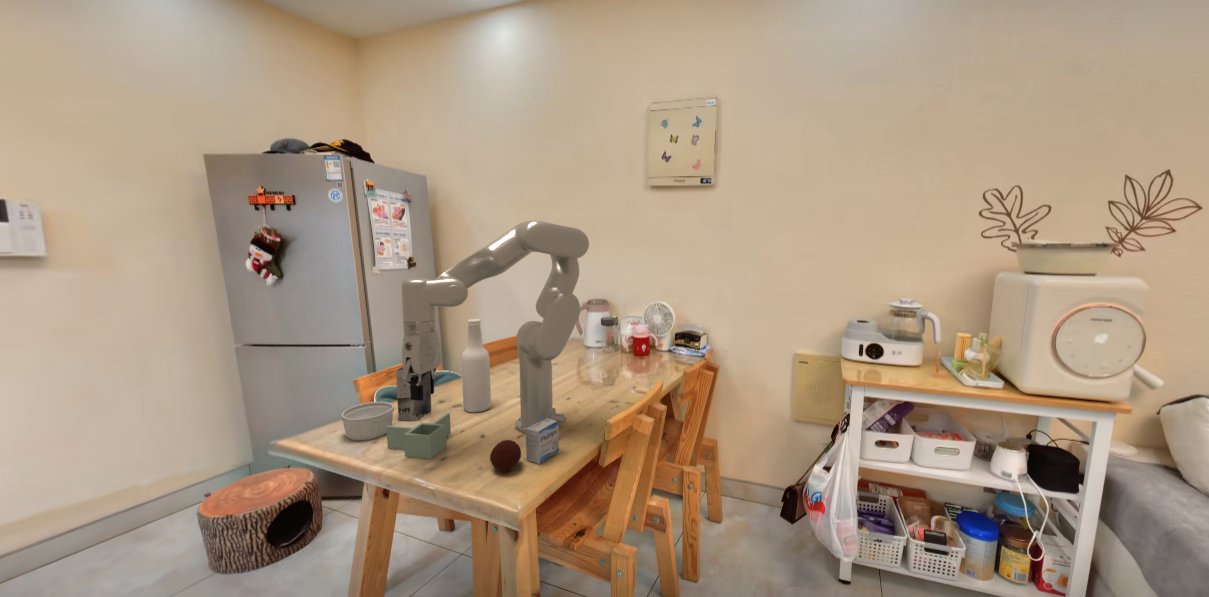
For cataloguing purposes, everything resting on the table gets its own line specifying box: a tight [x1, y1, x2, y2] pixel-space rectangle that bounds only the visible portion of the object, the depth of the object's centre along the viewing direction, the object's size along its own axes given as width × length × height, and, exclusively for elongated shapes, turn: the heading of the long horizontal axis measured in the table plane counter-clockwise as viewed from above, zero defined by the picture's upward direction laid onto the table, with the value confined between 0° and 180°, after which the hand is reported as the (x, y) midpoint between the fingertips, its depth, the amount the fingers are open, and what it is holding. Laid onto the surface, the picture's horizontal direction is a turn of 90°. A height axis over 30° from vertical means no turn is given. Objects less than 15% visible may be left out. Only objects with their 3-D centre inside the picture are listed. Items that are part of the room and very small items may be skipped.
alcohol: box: [461, 318, 492, 414], centre depth 141 cm, size 9×9×30 cm
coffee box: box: [395, 366, 424, 422], centre depth 136 cm, size 9×6×16 cm
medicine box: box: [525, 418, 560, 465], centre depth 110 cm, size 8×4×9 cm, turn 148°
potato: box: [489, 439, 522, 473], centre depth 104 cm, size 7×8×7 cm
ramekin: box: [340, 401, 395, 441], centre depth 124 cm, size 13×13×7 cm
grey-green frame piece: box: [386, 412, 452, 460], centre depth 117 cm, size 15×15×6 cm
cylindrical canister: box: [413, 370, 432, 416], centre depth 111 cm, size 4×4×12 cm
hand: (422, 396), depth 111 cm, fingers closed on cylindrical canister, 4 cm apart
